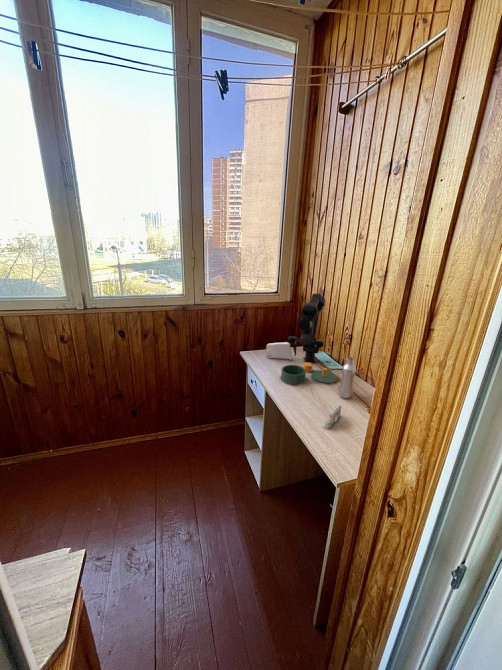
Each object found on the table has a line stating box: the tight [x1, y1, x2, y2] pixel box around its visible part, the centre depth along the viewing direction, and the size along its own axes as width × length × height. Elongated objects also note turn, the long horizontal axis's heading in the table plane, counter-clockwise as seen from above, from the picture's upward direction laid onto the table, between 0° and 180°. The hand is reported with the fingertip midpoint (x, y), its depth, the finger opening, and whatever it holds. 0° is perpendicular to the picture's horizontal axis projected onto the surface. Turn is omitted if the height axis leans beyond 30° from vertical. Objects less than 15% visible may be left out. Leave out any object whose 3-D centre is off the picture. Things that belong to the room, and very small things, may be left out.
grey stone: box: [325, 404, 342, 430], centre depth 122 cm, size 12×2×6 cm, turn 140°
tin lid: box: [311, 367, 338, 384], centre depth 158 cm, size 14×14×6 cm
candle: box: [302, 362, 313, 374], centre depth 166 cm, size 5×5×4 cm
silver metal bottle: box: [338, 356, 357, 399], centre depth 139 cm, size 6×7×20 cm
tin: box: [280, 364, 307, 386], centre depth 156 cm, size 13×13×5 cm
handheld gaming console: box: [265, 341, 292, 362], centre depth 180 cm, size 11×3×15 cm
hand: (303, 356), depth 159 cm, fingers open, 9 cm apart
